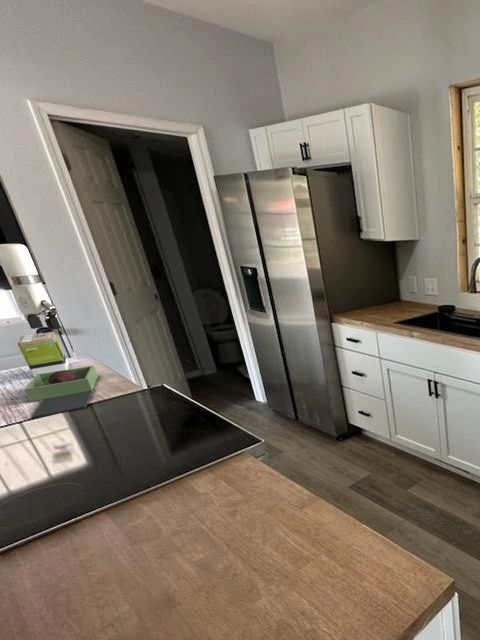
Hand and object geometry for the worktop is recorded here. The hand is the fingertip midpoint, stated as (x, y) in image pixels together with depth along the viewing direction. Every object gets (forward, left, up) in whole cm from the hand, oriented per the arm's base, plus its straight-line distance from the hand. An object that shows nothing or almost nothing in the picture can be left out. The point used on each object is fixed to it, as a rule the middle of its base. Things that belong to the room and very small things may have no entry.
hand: (46, 328), depth 150 cm
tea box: (-8, +24, -21) cm, 33 cm away
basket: (0, -8, -21) cm, 22 cm away
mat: (+2, -29, -21) cm, 36 cm away
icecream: (0, -8, -21) cm, 23 cm away
